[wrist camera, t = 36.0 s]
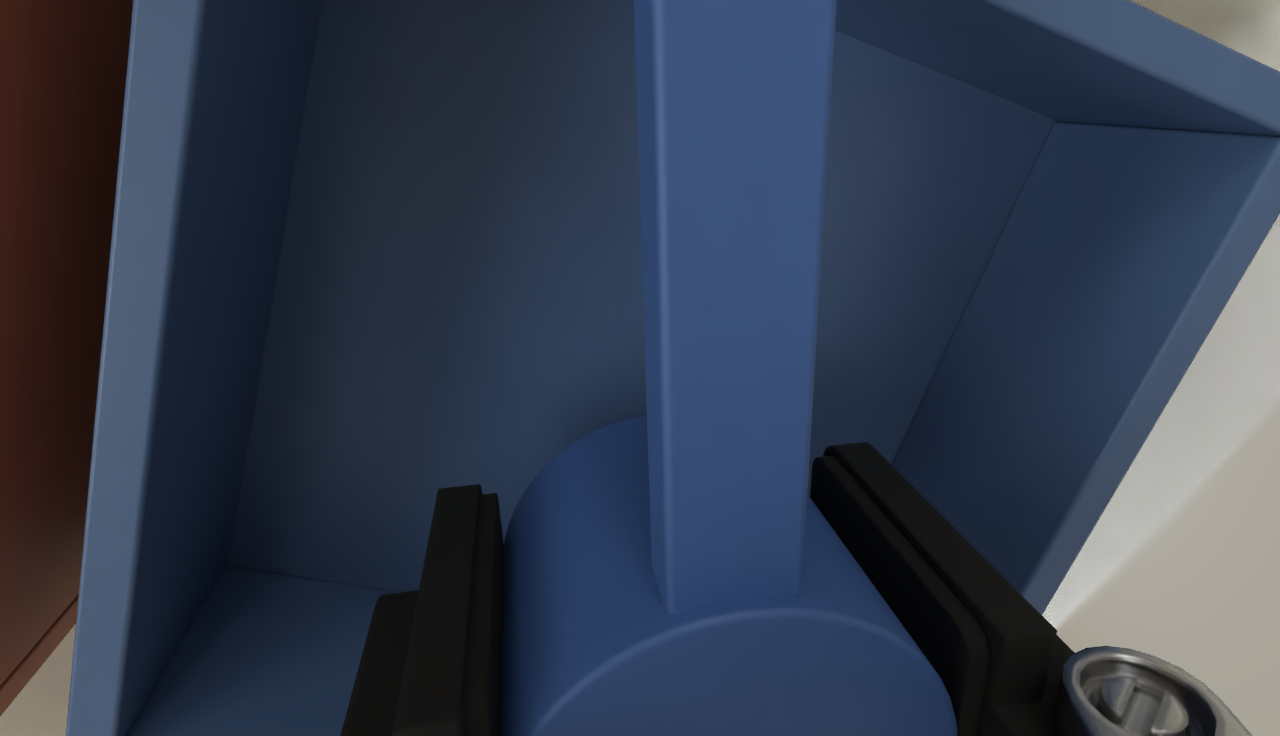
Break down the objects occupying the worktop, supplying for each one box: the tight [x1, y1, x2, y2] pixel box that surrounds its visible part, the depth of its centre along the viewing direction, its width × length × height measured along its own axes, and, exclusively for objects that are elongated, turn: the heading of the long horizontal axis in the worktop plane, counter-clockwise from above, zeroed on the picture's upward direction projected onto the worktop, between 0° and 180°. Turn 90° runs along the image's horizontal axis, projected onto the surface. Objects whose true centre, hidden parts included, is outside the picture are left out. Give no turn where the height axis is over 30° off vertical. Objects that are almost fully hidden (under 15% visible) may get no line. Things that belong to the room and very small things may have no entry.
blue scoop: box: [501, 0, 957, 736], centre depth 8 cm, size 9×4×4 cm, turn 2°
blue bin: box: [66, 0, 1280, 736], centre depth 10 cm, size 11×11×4 cm
